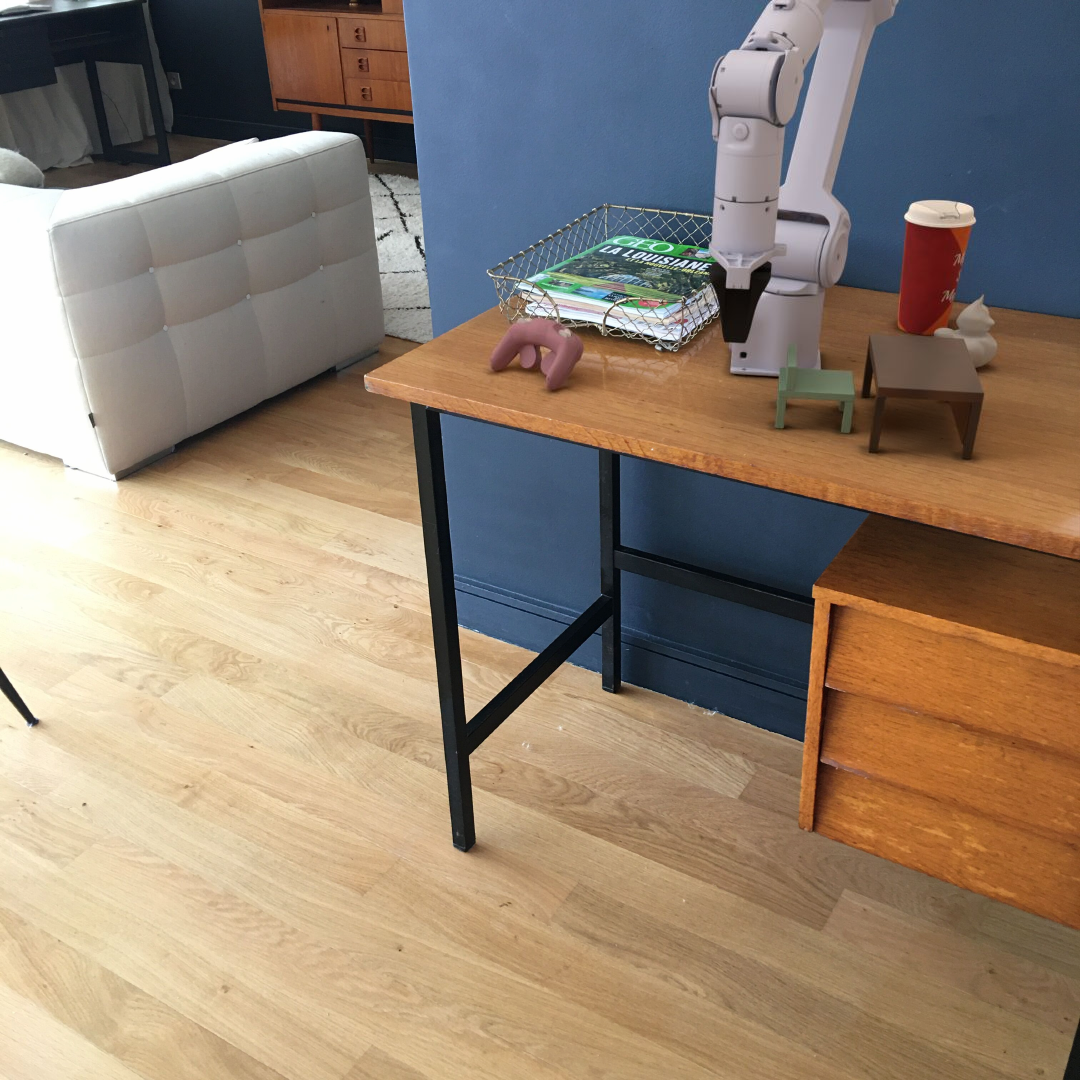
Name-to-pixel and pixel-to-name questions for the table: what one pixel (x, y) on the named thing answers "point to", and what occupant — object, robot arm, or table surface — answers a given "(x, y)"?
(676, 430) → the table surface
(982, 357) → the white sculpted figure
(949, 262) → the paper cup
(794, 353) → the green seat
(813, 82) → the robot arm
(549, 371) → the video game controller
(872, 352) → the desk
